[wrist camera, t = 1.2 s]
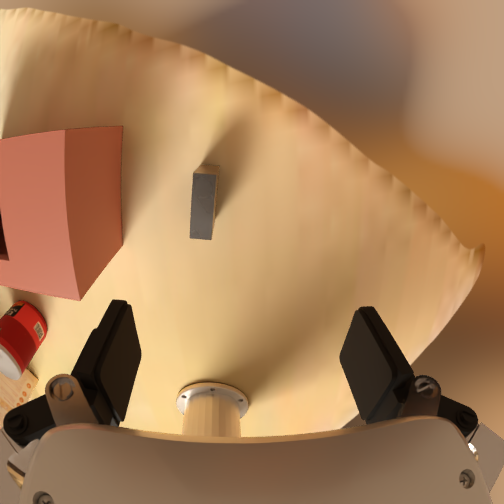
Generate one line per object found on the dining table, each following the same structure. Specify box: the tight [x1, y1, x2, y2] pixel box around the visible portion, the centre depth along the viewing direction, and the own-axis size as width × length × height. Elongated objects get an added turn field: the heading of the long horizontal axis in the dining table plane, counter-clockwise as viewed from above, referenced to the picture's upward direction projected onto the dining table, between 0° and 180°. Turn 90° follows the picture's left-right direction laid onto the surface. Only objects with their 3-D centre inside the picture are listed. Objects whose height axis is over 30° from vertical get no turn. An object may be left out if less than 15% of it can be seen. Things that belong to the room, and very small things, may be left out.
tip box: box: [0, 126, 123, 301], centre depth 22 cm, size 14×20×12 cm
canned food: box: [0, 301, 47, 380], centre depth 31 cm, size 8×8×11 cm
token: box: [190, 165, 220, 240], centre depth 27 cm, size 6×2×6 cm, turn 173°
